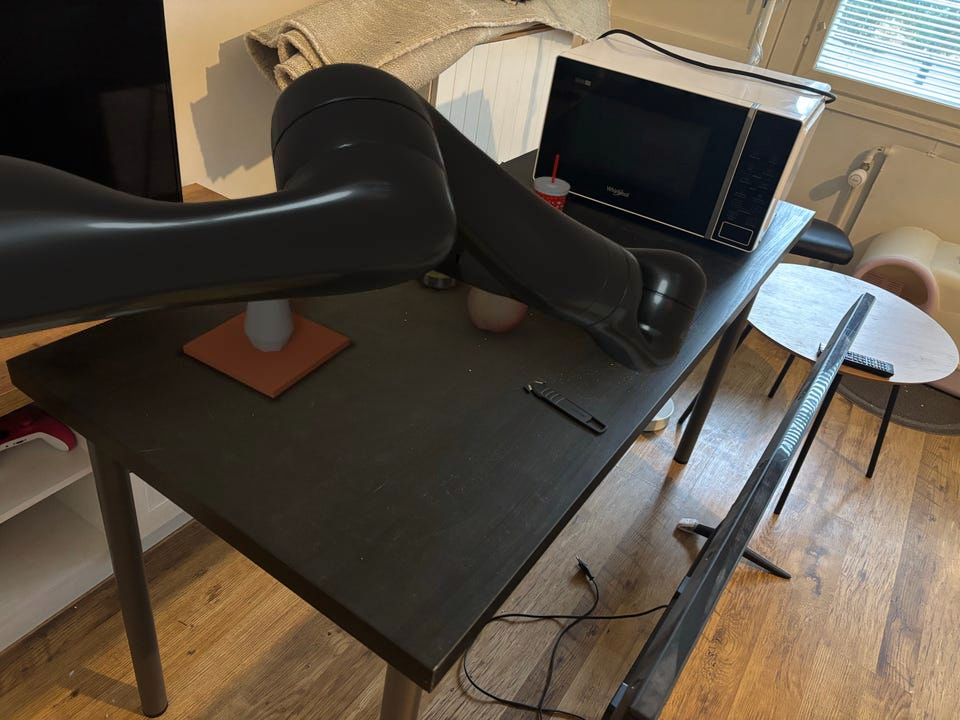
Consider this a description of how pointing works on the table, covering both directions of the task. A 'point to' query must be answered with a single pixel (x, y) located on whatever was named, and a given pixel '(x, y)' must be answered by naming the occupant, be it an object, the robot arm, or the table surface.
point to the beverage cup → (552, 189)
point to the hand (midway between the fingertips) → (345, 194)
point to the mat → (266, 353)
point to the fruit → (494, 311)
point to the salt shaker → (268, 324)
